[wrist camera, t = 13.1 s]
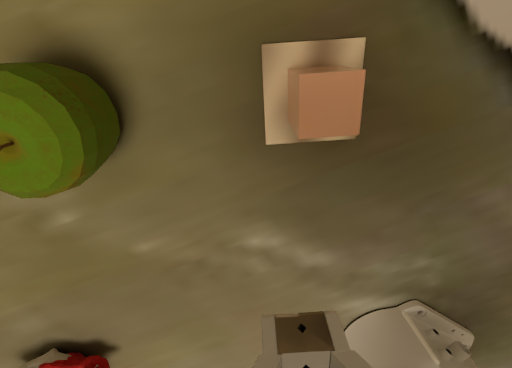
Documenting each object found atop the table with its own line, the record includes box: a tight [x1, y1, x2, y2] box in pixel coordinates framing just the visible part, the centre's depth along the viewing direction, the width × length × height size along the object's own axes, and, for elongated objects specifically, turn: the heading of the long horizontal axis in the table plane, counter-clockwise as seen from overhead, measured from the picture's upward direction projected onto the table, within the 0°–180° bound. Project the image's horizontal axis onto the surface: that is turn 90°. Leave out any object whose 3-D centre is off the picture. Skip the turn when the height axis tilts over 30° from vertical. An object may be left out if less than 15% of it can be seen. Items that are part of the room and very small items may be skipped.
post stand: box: [261, 37, 366, 145], centre depth 26 cm, size 10×10×6 cm
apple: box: [0, 63, 120, 198], centre depth 25 cm, size 11×11×11 cm
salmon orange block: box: [288, 65, 366, 139], centre depth 26 cm, size 5×5×7 cm
